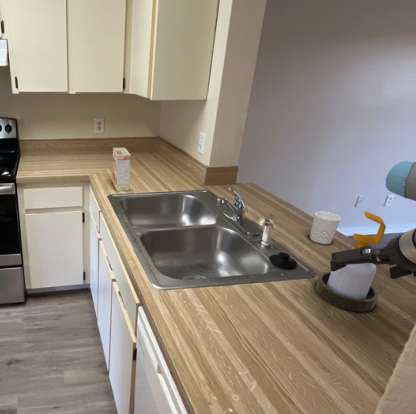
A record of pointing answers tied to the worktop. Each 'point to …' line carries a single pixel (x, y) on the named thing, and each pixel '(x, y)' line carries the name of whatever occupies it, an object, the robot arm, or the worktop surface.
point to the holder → (342, 300)
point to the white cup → (324, 227)
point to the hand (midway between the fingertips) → (361, 269)
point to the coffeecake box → (121, 169)
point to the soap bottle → (357, 267)
